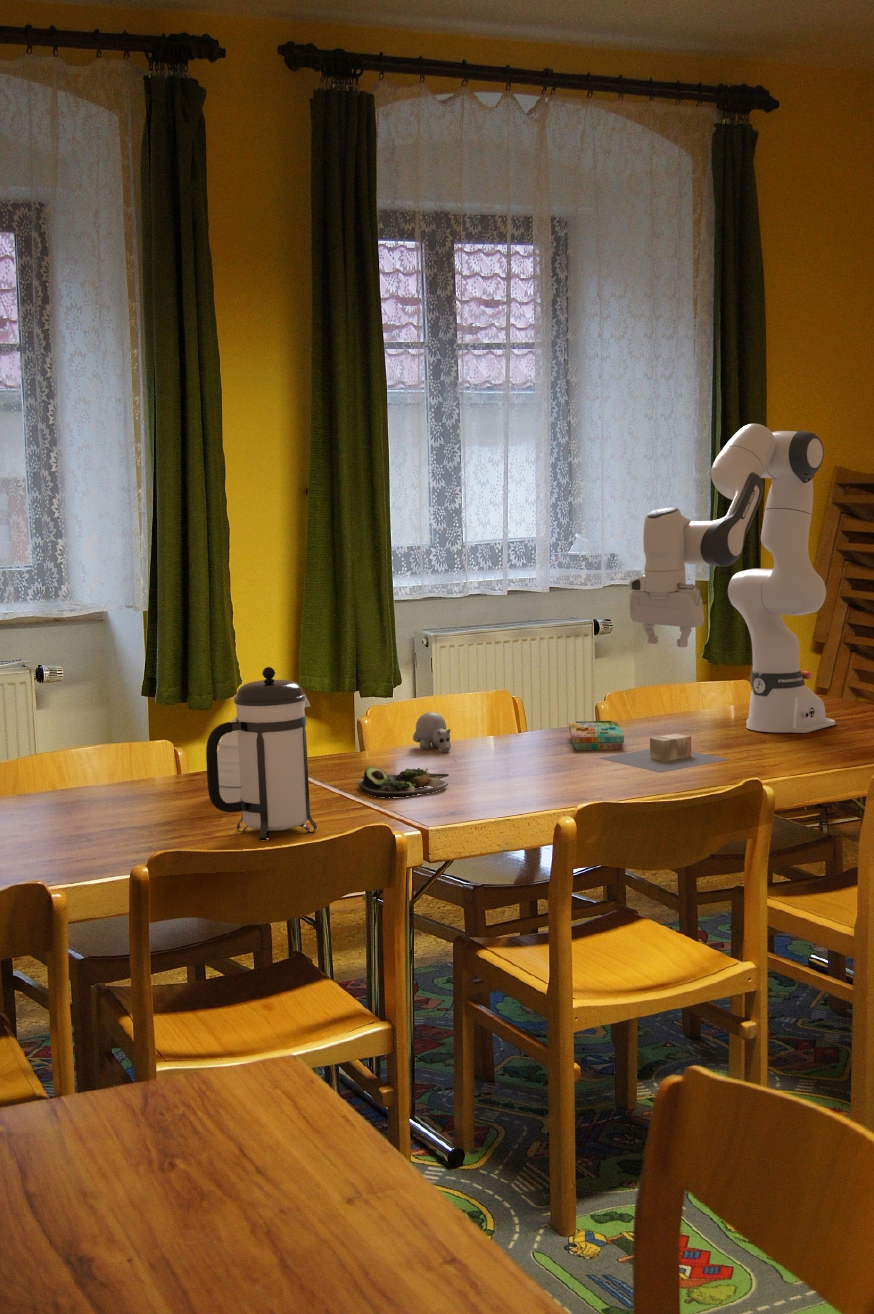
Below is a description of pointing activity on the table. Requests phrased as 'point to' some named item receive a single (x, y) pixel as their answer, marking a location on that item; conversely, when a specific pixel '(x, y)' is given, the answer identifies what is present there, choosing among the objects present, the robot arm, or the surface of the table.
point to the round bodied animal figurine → (432, 732)
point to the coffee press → (267, 756)
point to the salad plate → (400, 782)
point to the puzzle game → (596, 735)
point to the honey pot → (229, 767)
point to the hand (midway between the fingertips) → (667, 645)
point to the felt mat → (645, 762)
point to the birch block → (670, 747)
